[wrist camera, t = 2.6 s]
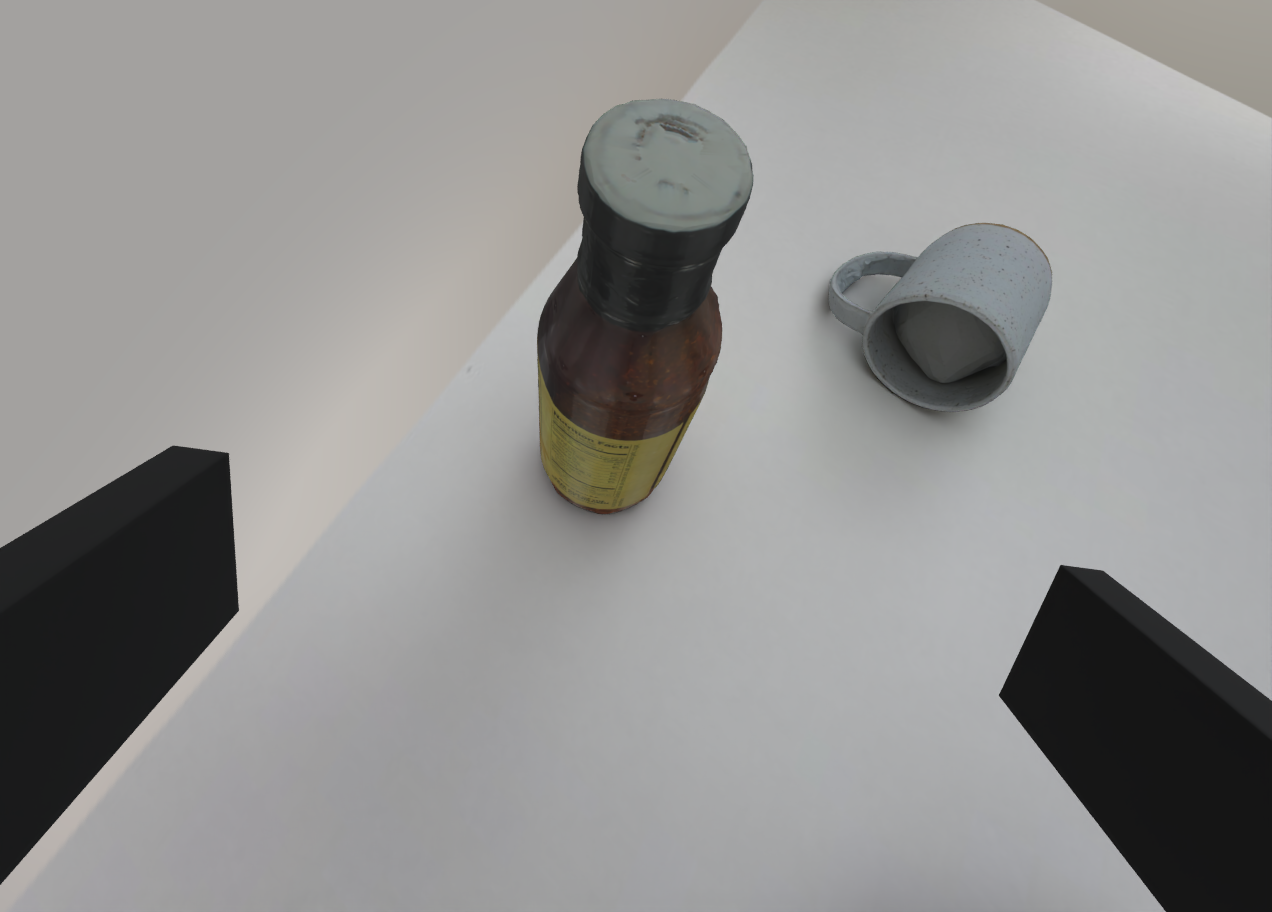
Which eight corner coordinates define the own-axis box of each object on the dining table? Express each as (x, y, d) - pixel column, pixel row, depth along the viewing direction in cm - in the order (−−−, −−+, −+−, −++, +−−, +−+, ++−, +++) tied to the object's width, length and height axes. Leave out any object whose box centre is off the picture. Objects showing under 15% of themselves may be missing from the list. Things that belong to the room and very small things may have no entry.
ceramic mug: (1003, 340, 40) (1101, 257, 33) (951, 434, 37) (1047, 363, 30) (857, 246, 42) (921, 147, 35) (794, 329, 38) (851, 238, 31)
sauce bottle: (605, 384, 35) (688, 14, 17) (687, 469, 34) (870, 169, 16) (508, 457, 33) (482, 118, 14) (592, 550, 31) (678, 309, 13)
